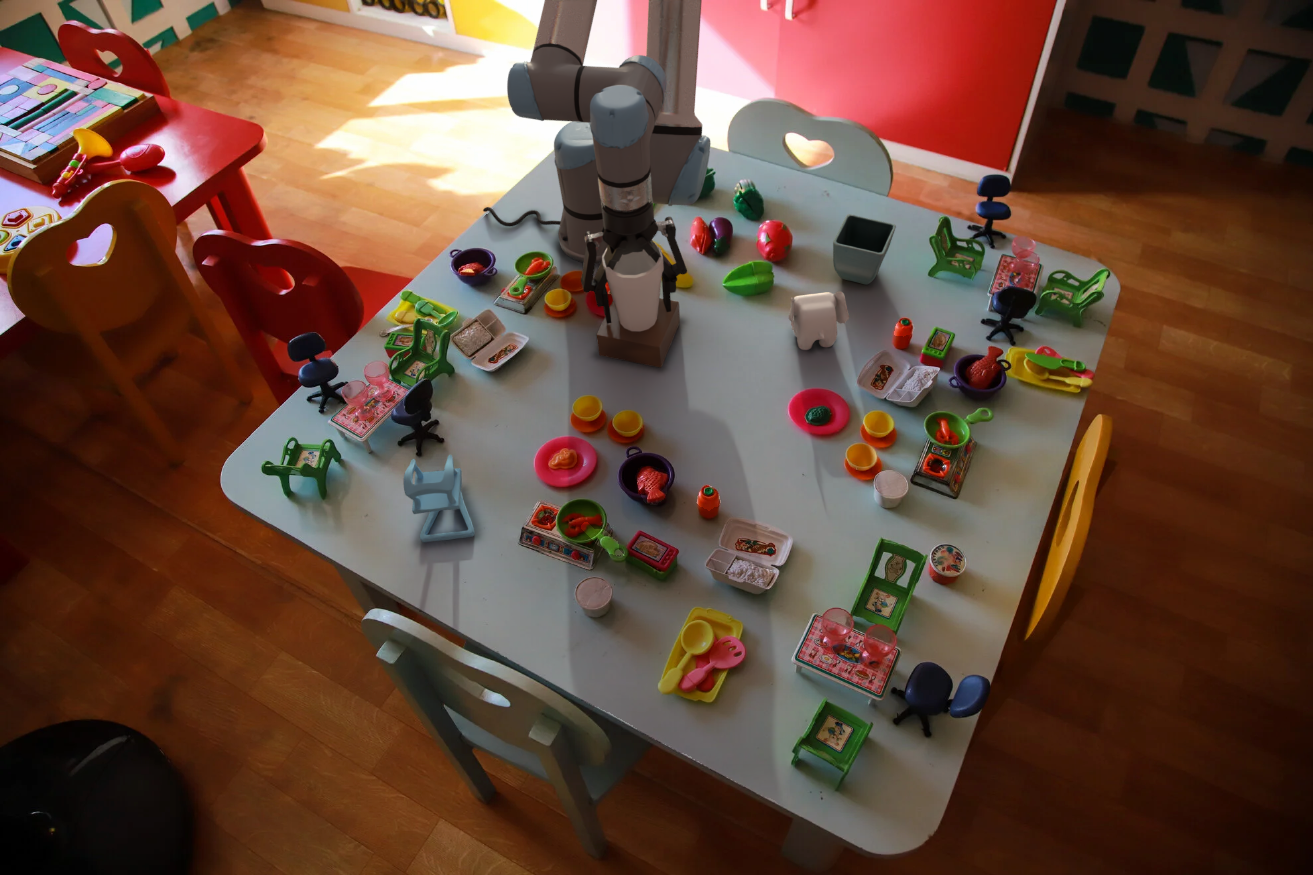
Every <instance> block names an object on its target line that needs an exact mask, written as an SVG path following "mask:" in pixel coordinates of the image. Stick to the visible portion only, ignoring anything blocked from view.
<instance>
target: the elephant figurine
mask: <svg viewBox="0 0 1313 875" xmlns="http://www.w3.org/2000/svg"><path fill="white" fill-rule="evenodd" d="M789 306H790V310H789V314H788V320H789V321H790V326H791V331H793V334H794V336H795V337H796V342H797V347H798V348H799V349H800V350H802V351H808V350H810V349H812V347H813V344H814V343H815V341H818V343H819V345H820V347H823V348H831V347H832V346H833V345H834V344H835V343H836V340H837V337H838V324H846V322H847V321H849V319H850V314H849V310H848V307H847V302H846V297H845V293H843V291H836V292H835V293H832V292H828V291H827V292H819V293H810V294H809V293H808V294H804V295H803V294H802V295H796V296H794V297H793V296H791V297H790V304H789ZM837 323H838V324H837Z"/></svg>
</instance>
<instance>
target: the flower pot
mask: <svg viewBox="0 0 1313 875" xmlns="http://www.w3.org/2000/svg"><path fill="white" fill-rule="evenodd" d="M844 217H845V218H844V220H843V221H842V223H841V226H840V228H839V230H838V232H837V234H836V235H835V237H834V239H833V241H832V261H833V262H832V263H833V268H834V270H835V273H836V274H837V275H838V276H839V278H840V279H842V280H846V281H850V282H854V283H858V284H862V285H865V286H866V285H869V284H871V283H872V282H873V281H874V280H875V279H876V277H877V275H878V273H879V271H880V268H881V266H882V264H883V261H884V259H885V257H886V255H887V253H888V250H889V248H890V246H891V243H892V240H893V236H894V234H895V231H896V228H897V225H896V224H895V223H891V222H886V221H882V220H877V219H873V218H869V217H868V218H867V217H864V216H860V215H855V214H849V213H848V214H846V215H845V216H844Z"/></svg>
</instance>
